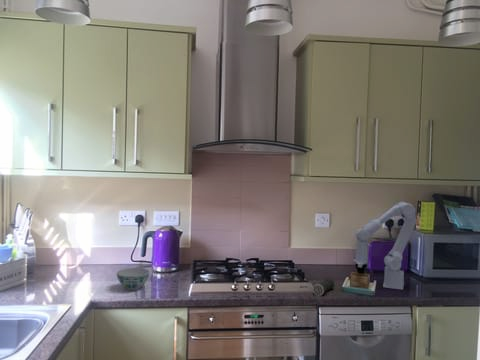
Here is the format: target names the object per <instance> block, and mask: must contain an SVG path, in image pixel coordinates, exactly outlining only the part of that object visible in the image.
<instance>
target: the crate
mask: <svg viewBox="0 0 480 360" xmlns="http://www.w3.org/2000/svg"><path fill="white" fill-rule="evenodd" d="M370 277H371V274H369V273H364V274H362V273H358V272H353V271H352V272H351V273H350V276H349V280H350V286H352V287H359V288H366V289H369V283H371V282H370V280H371V279H370Z"/></svg>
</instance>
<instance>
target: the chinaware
mask: <svg viewBox="0 0 480 360" xmlns="http://www.w3.org/2000/svg"><path fill="white" fill-rule="evenodd" d="M116 275H117V276H116V277H117V279H118V281H119V283H120V284H121V285H122V287H124V288H125V290H128V291H137V290H140V288H141V286H143V285H144V284H145V283H146V282H147V281H148V279H149V276H150V270H149V269H147V268H142V267H129V268H123V269H119V270H117V272H116Z"/></svg>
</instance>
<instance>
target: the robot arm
mask: <svg viewBox="0 0 480 360" xmlns="http://www.w3.org/2000/svg"><path fill="white" fill-rule="evenodd" d="M416 210H417V209H415V207H414V205H413V204H411V203H410V202H409V203H408V202H405V201H399V202H398V203H396V204H395V205H393V206H392V207H391V208H390V209H389V210H387V211H386V212H385V213H384V214H382V215H381V216H380V217H378V218H377V219H370V220H369V221H368V223H367V224H365V225H363V226H362V227H361V228H359V229H357V230H356V232H355V234H354V235H355V237H356V245H355V259H352V261H353V262H355V263H356V264H354V265H355V266H354V267H355V268H356V271H357V272H356V273H362V274H365V271H366V269H367V266H368V248H369V246H368V244H369V242H368V241H369V239H370V236H373V235H374V233H377V232H379V230H380V229H381V228H382V225H383V224H384V223H386V222H388V221H389V220H391V219H392V218H393V217H397V216H400V217H401V218H402V220H403V223H402V224H403V225H402V227H401V229H400V230H399V234H398V236H397V238H396V240H395V242H394V245H393V246H392V248H391V250H390V251H388V254H387V255H385V256H384V259H383V263H384V264H385V267H384V275H383V277H384V280H383V284H382V287H383V288H388V289H395V290H402V291H403V290H404V286H405V282H404V278H405V277H404V274H405V271H404V270H401V267H402V261H403V253H404V251H405V250H406V247H407V245H408V242H409V240H410V237H411V236H412V233H413V230H414V228H415V226H416V224H417V216H416Z"/></svg>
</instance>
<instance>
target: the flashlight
mask: <svg viewBox="0 0 480 360" xmlns="http://www.w3.org/2000/svg"><path fill="white" fill-rule="evenodd" d="M333 288H335V281H334V279H333V278H325V279H324V280H323V281H320V282H318V283H316V284H314V285H313V287H312V292H313V294H314V296H319V297H321V296H323V295H324V294H325V293H326V292H328V291H330V290H331V289H333Z"/></svg>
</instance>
